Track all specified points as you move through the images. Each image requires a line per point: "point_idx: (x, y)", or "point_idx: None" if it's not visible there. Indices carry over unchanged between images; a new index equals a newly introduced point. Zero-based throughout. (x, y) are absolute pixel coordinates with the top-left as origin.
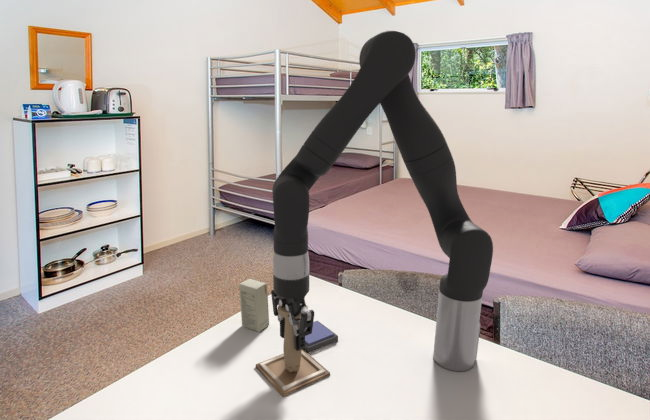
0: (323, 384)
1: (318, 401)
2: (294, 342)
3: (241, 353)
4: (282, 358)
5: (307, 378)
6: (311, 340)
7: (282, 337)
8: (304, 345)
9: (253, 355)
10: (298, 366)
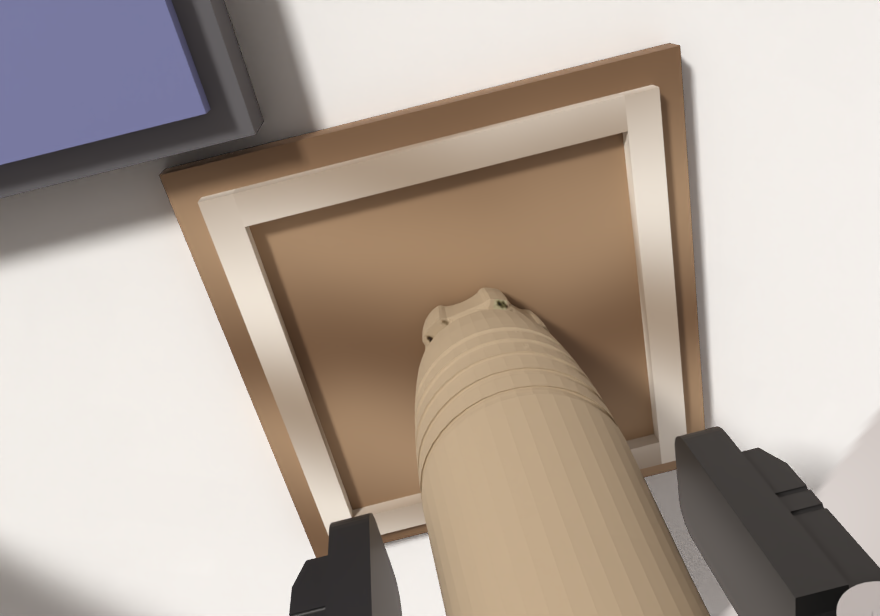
0: (741, 149)
1: (872, 253)
2: (733, 599)
3: (115, 605)
4: (307, 379)
5: (669, 276)
6: (143, 56)
7: (396, 590)
8: (790, 474)
9: (164, 540)
10: (546, 329)
